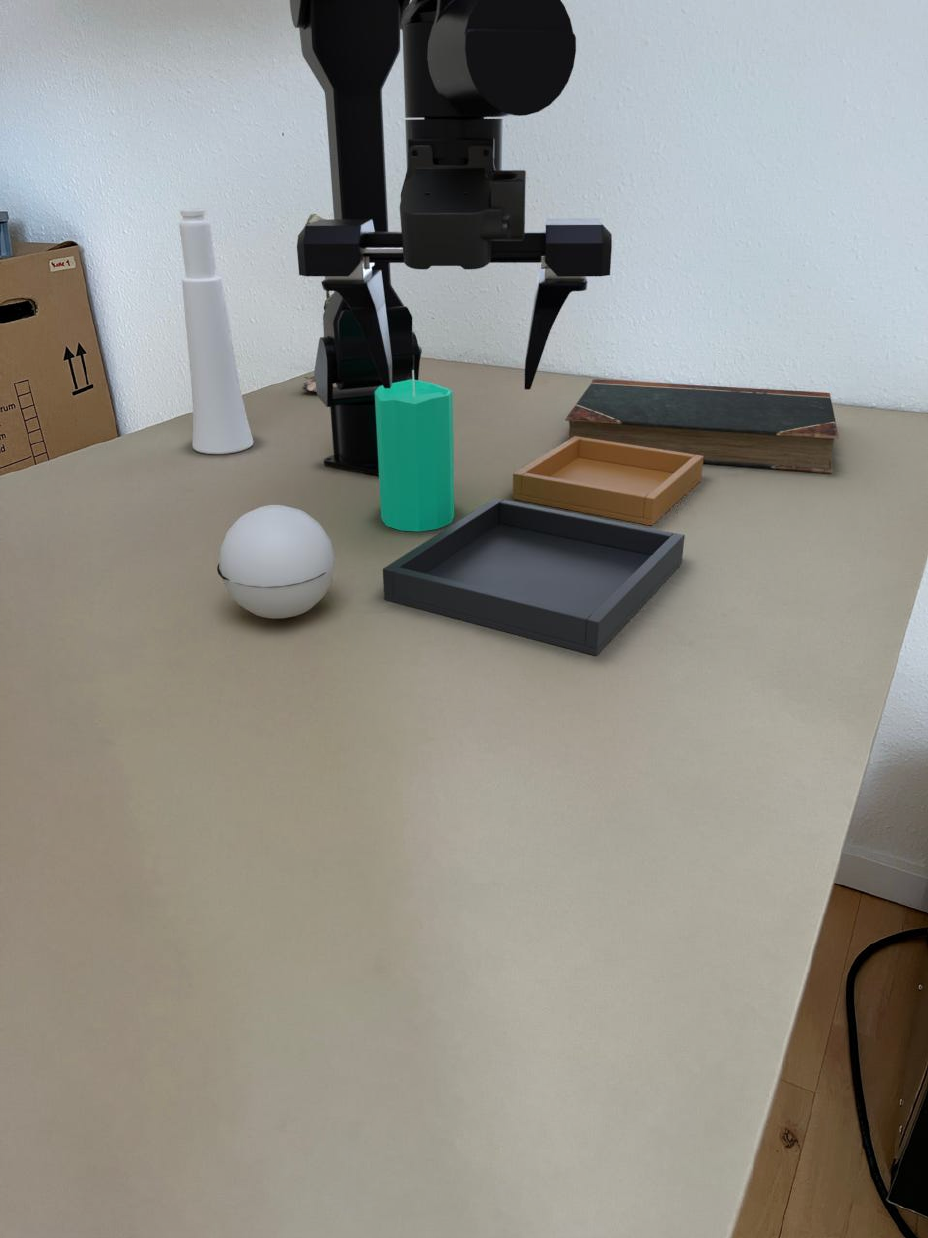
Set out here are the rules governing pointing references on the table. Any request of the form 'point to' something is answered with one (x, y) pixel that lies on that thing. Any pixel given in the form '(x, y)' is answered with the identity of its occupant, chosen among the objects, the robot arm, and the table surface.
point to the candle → (415, 455)
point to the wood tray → (609, 479)
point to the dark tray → (537, 573)
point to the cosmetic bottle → (210, 346)
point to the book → (712, 422)
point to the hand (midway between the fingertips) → (457, 387)
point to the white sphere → (276, 561)
